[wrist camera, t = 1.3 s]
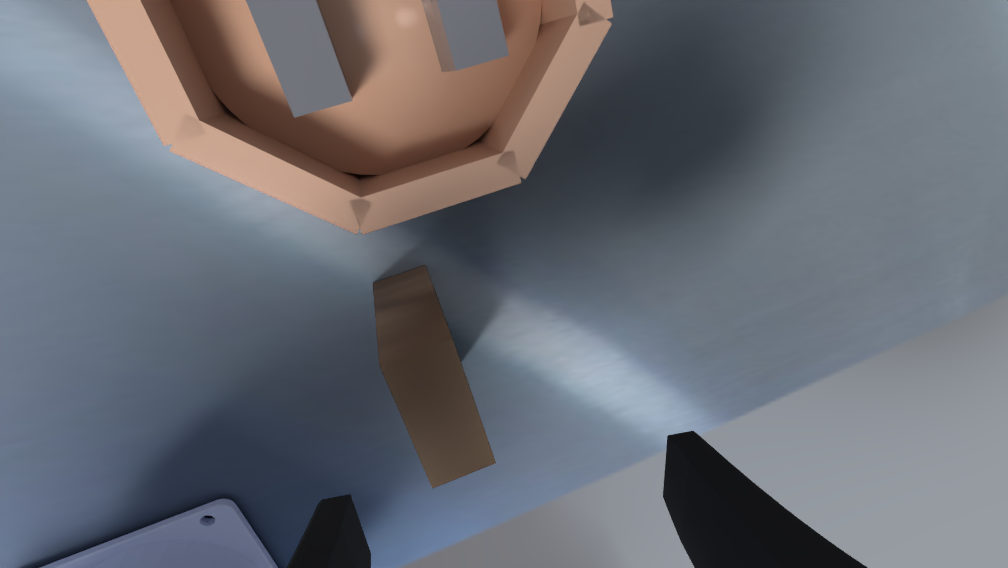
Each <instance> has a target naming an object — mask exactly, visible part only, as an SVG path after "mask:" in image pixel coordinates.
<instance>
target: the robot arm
mask: <svg viewBox="0 0 1008 568" xmlns="http://www.w3.org/2000/svg"><path fill="white" fill-rule="evenodd" d="M663 498H664V500H665V503H666V506H667V508H668V511H669V513H670V516H671V518H672V521H673V523H674V526H675V528H676V530H677V533H678V535H679V538H680V540H681V542H682V544H683V546H684V548H685V550H686V552H687V554H688V556H689V558H690V559H691V561H692V563H693V565H694V567H695V568H867V567H866V566H864V565H863V564H861V563H860V562H858V561H857V560H855V559H854V558H852V557H851V556H849V555H848V554H846V553H845V552H844V551H842V550H841V549H839V548H838V547H836V546H835V545H834V544H832V543H831V542H829V541H828V540H827V539H825V538H824V537H822V536H821V535H820V534H818V533H817V532H816V531H814V530H813V529H812V528H810V527H809V526H808V525H806V524H805V523H804V522H802V521H801V520H800V519H798V518H797V517H796V516H794V515H793V514H792V513H791V512H789V511H788V510H787V509H785V508H784V507H783V506H782V505H780V504H779V503H778V502H777V501H775V500H774V499H773V498H772V497H771V496H769V495H768V494H767V493H766V492H764V491H763V490H762V489H761V488H759V487H758V486H757V485H756V484H755V483H753V482H752V481H751V480H750V479H748V478H747V477H746V476H745V475H744V474H743V473H741V472H740V471H739V470H738V469H737V468H736V467H734V466H733V465H732V464H731V463H730V462H728V461H727V460H726V459H725V458H724V457H723V456H722V455H721V454H719V453H718V452H717V451H716V450H715V449H714V448H713V447H711V446H710V445H709V444H708V443H707V442H706V441H705V440H704V439H702V438H701V437H700V436H699V435H698V434H697V433H695V432H694V431H690V432H684V433H679V434H673V435H668V438H667V451H666V465H665V477H664V490H663ZM207 515H209V516H213V517H214V518H206V517H204V516H207ZM40 568H278V567H277V565H276V564H275V562H274V561H273V559H272V558H271V556H270V555H269V553H268V552H267V550H266V549H265V547H264V546H263V544H262V543H261V541H260V540H259V538H258V537H257V535H256V534H255V532H254V531H253V529H252V528H251V526H250V525H249V523H248V522H247V520H246V519H245V517H244V516H243V514H242V513H241V511H240V510H239V508H238V507H237V505H236V504H235V503H234V502H233V501H232V500H229V499H219V500H215V501H213V502H210V503H207V504H205V505H202V506H199V507H197V508H194V509H192V510H189V511H186V512H184V513H181V514H179V515H176V516H173V517H171V518H168V519H166V520H163V521H160V522H158V523H155V524H152V525H150V526H147V527H145V528H142V529H139V530H137V531H134V532H132V533H129V534H126V535H124V536H121V537H118V538H116V539H113V540H111V541H108V542H105V543H103V544H100V545H98V546H95V547H92V548H90V549H87V550H85V551H82V552H79V553H77V554H74V555H71V556H69V557H66V558H64V559H61V560H58V561H56V562H53V563H51V564H48V565H45V566H43V567H40ZM287 568H371V553H370V550H369V547H368V544H367V541H366V538H365V535H364V532H363V530H362V527H361V524H360V521H359V518H358V515H357V512H356V509H355V506H354V504H353V501H352V498H351V495H344V496H339V497H333V498H328V499H323V500H321V501H320V503H319V504H318V505H317V508H316V510H315V512H314V514H313V516H312V518H311V520H310V522H309V524H308V527H307V529H306V531H305V533H304V535H303V537H302V539H301V541H300V543H299V545H298V547H297V549H296V551H295V553H294V554H293V556H292V558H291V560H290V562H289V564H288V566H287Z"/></svg>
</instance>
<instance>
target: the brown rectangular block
mask: <svg viewBox="0 0 1008 568" xmlns="http://www.w3.org/2000/svg"><path fill="white" fill-rule="evenodd" d="M373 293H374V305H375V317H376V330H377V342H378V355H379V366H380V368H381V370H382V373H383V375H384V377H385V380H386V382H387V384H388V387H389V389H390V391H391V393H392V396H393V398H394V400H395V403H396V405H397V407H398V410H399V412H400V414H401V417H402V419H403V421H404V424H405V426H406V428H407V431H408V433H409V435H410V438H411V440H412V442H413V445H414V447H415V449H416V452H417V454H418V456H419V458H420V461H421V463H422V465H423V468H424V470H425V472H426V475H427V477H428V479H429V482H430V484H431V486H432V488H435V487H437V486H440V485H442V484H445V483H447V482H450V481H452V480H455V479H457V478H460V477H462V476H465V475H467V474H470V473H472V472H475V471H477V470H480V469H482V468H485V467H487V466H490V465H492V464H495V463H496V462H495V459H494V456H493V453H492V450H491V447H490V445H489V442H488V439H487V436H486V433H485V430H484V427H483V424H482V422H481V419H480V416H479V413H478V410H477V407H476V404H475V401H474V399H473V396H472V393H471V390H470V387H469V384H468V381H467V378H466V376H465V373H464V370H463V367H462V364H461V361H460V358H459V356H458V353H457V350H456V347H455V344H454V341H453V338H452V336H451V333H450V330H449V327H448V325H447V322H446V319H445V317H444V314H443V311H442V309H441V306H440V303H439V300H438V298H437V295H436V292H435V290H434V287H433V284H432V282H431V279H430V276H429V273H428V271H427V268H426V265H424V266H421V267H418V268H415V269H412V270H409V271H406V272H403V273H400V274H397V275H394V276H391V277H388V278H385V279H382V280H379V281H376V282H374V283H373Z"/></svg>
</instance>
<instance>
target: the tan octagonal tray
mask: <svg viewBox="0 0 1008 568" xmlns="http://www.w3.org/2000/svg"><path fill="white" fill-rule="evenodd" d="M87 2H88V4H89V6H90V7H91V9H92V11H93V13H94V15H95V17H96V19H97V21H98V22H99V24H100V26H101V28H102V30H103V32H104V34H105V36H106V38H107V39H108V41H109V43H110V45H111V47H112V49H113V51H114V53H115V55H116V56H117V58H118V60H119V62H120V64H121V66H122V68H123V70H124V72H125V73H126V75H127V77H128V79H129V81H130V83H131V85H132V87H133V89H134V90H135V92H136V94H137V96H138V98H139V100H140V102H141V104H142V106H143V107H144V109H145V111H146V113H147V115H148V117H149V119H150V121H151V123H152V124H153V126H154V128H155V130H156V132H157V134H158V136H159V138H160V139H161V141H162V143H163V145H164V146H165V145H169V144H172V143H173V144H172V146H171V149H170V152H173V153H175V154H177V155H179V156H182V157H184V158H186V159H188V160H191V161H193V162H195V163H197V164H200V165H202V166H204V167H206V168H209V169H211V170H213V171H215V172H218V173H220V174H222V175H224V176H226V177H229V178H231V179H233V180H235V181H238V182H240V183H242V184H244V185H247V186H249V187H251V188H253V189H256V190H258V191H260V192H262V193H265V194H267V195H269V196H271V197H274V198H276V199H278V200H280V201H283V202H285V203H287V204H289V205H292V206H294V207H296V208H298V209H300V210H303V211H305V212H307V213H309V214H312V215H314V216H316V217H318V218H321V219H323V220H325V221H327V222H330V223H332V224H334V225H336V226H339V227H341V228H343V229H345V230H348V231H350V232H352V233H354V234H357V233H358V231H359V229H360V230H361V233H362V235H363V234H367V233H370V232H373V231H376V230H379V229H382V228H385V227H388V226H391V225H394V224H397V223H400V222H403V221H406V220H410V219H413V218H416V217H419V216H422V215H425V214H428V213H431V212H434V211H437V210H440V209H443V208H446V207H449V206H452V205H456V204H459V203H462V202H465V201H468V200H471V199H474V198H477V197H480V196H483V195H486V194H489V193H492V192H495V191H499V190H502V189H505V188H508V187H511V186H514V185H517V184H520V183H521V179H520V177H522V178H524V179H526V178H527V176H528V174H529V173H530V171H531V169H532V167H533V165H534V164H535V162H536V160H537V158H538V156H539V155H540V153H541V151H542V149H543V147H544V146H545V144H546V142H547V140H548V138H549V137H550V135H551V133H552V131H553V129H554V127H555V126H556V124H557V122H558V120H559V118H560V117H561V115H562V113H563V111H564V109H565V108H566V106H567V104H568V102H569V100H570V99H571V97H572V95H573V93H574V91H575V90H576V88H577V86H578V84H579V82H580V81H581V79H582V77H583V75H584V73H585V72H586V70H587V68H588V66H589V64H590V63H591V61H592V59H593V57H594V55H595V54H596V52H597V50H598V48H599V46H600V44H601V43H602V41H603V39H604V37H605V35H606V34H607V32H608V30H609V28H610V26H611V25H612V23H611V22H609V21H608V20H607V19H609V18H613V12H612V6H611V0H87ZM230 111H231V112H230ZM357 174H360V175H361V176H359V175H357Z"/></svg>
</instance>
